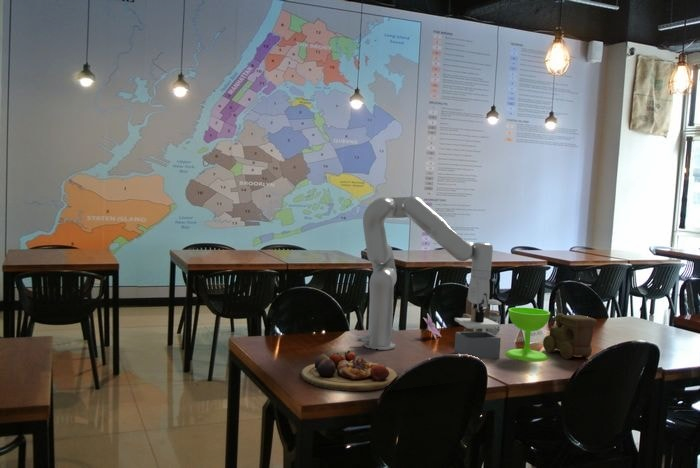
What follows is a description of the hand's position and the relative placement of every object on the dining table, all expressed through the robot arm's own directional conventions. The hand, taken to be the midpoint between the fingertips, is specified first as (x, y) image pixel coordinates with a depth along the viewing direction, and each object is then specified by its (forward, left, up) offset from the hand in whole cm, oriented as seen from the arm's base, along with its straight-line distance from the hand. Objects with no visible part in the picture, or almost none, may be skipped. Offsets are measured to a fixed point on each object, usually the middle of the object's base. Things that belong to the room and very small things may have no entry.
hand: (477, 320), depth 247 cm
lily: (-7, +31, -14) cm, 34 cm away
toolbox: (+1, +2, -14) cm, 14 cm away
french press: (+25, +40, -14) cm, 49 cm away
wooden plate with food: (-57, -25, -14) cm, 64 cm away
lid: (0, 0, -2) cm, 2 cm away
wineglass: (+20, -3, -14) cm, 25 cm away
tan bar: (+5, +15, -4) cm, 17 cm away
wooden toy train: (+38, -3, -14) cm, 41 cm away
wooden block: (+13, +29, -14) cm, 35 cm away
